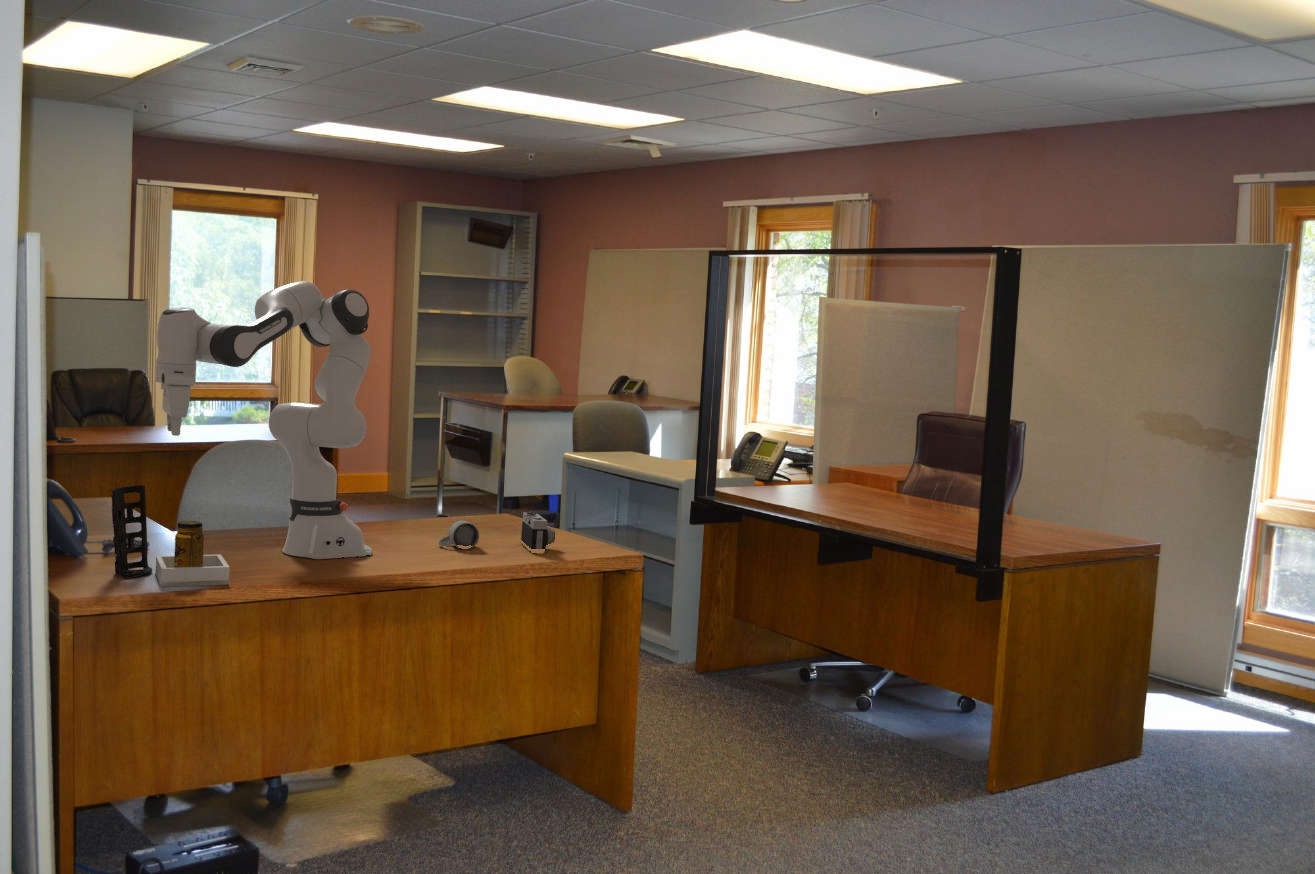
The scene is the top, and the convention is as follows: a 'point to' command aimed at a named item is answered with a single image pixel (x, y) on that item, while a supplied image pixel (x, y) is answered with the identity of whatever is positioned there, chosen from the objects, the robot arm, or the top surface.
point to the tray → (192, 572)
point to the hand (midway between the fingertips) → (173, 433)
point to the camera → (536, 531)
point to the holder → (122, 536)
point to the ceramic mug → (461, 535)
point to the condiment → (189, 544)
